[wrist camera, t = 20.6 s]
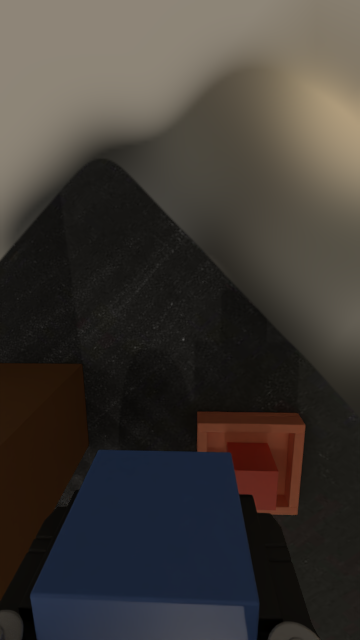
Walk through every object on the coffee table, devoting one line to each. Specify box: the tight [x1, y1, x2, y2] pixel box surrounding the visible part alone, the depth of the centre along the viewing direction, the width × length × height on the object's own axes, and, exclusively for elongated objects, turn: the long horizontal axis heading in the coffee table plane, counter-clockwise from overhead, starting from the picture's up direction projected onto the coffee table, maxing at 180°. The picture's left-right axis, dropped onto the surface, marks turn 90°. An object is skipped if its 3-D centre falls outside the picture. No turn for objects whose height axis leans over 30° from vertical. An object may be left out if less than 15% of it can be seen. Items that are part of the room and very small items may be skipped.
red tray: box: [197, 412, 305, 515], centre depth 34 cm, size 11×11×2 cm
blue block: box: [30, 450, 260, 640], centre depth 9 cm, size 4×4×4 cm
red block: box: [226, 442, 279, 511], centre depth 32 cm, size 4×4×4 cm
